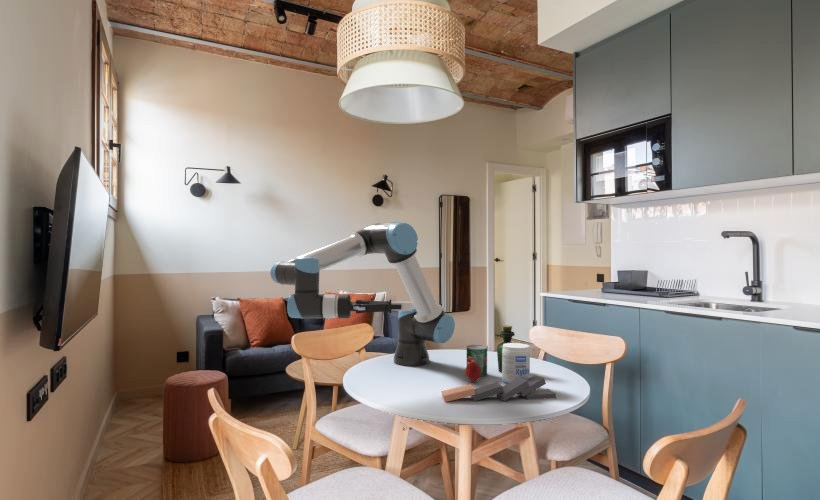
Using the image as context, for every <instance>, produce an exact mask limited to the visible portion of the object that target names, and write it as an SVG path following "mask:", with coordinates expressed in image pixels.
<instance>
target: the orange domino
mask: <svg viewBox="0 0 820 500" xmlns="http://www.w3.org/2000/svg"><path fill="white" fill-rule="evenodd" d="M474 389H475V388H474V386H473V385H472V384H471V383H469V384H465V385H461V386H457V387H453V388H449V389H448V388H447V389H446V390H445V389H444V390H441V392H440V393H441V397H442V400H443V401H444V403H446V402H451V401H455V400H459V399H462V398H463V399H464V398H467V397H471V396H472V395H475V390H474Z"/></svg>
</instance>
